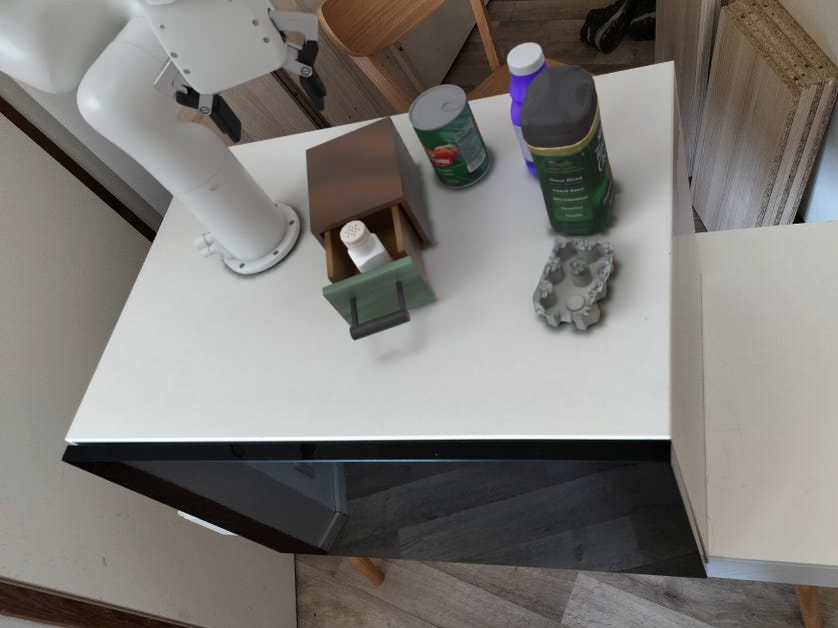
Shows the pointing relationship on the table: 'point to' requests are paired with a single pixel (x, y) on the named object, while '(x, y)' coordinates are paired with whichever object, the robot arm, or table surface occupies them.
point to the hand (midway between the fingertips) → (279, 118)
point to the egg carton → (574, 281)
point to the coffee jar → (569, 149)
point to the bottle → (523, 86)
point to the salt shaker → (364, 247)
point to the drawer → (378, 275)
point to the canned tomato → (450, 136)
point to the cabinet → (363, 179)
